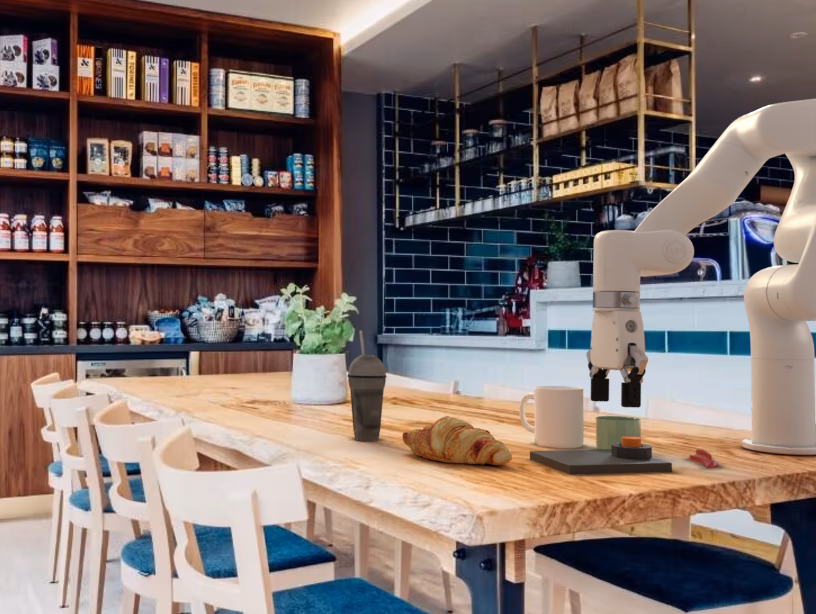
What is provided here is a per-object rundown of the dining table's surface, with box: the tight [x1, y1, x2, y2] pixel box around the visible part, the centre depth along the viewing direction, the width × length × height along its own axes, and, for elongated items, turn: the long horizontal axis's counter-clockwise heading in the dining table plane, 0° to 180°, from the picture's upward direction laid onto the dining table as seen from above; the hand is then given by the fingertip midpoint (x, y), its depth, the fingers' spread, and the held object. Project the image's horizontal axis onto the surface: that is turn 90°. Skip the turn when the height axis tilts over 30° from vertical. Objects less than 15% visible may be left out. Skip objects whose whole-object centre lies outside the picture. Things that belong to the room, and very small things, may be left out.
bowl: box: [595, 415, 642, 450], centre depth 140 cm, size 7×7×6 cm
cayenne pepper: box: [688, 448, 719, 470], centre depth 129 cm, size 12×5×2 cm, turn 149°
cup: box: [519, 385, 585, 449], centre depth 148 cm, size 8×12×10 cm
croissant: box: [402, 415, 513, 466], centre depth 130 cm, size 21×10×8 cm, turn 42°
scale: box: [529, 443, 673, 476], centre depth 126 cm, size 16×13×3 cm
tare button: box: [621, 436, 642, 447], centre depth 127 cm, size 3×3×2 cm
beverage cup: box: [347, 329, 387, 442], centre depth 153 cm, size 7×7×20 cm
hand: (614, 404), depth 140 cm, fingers open, 9 cm apart
